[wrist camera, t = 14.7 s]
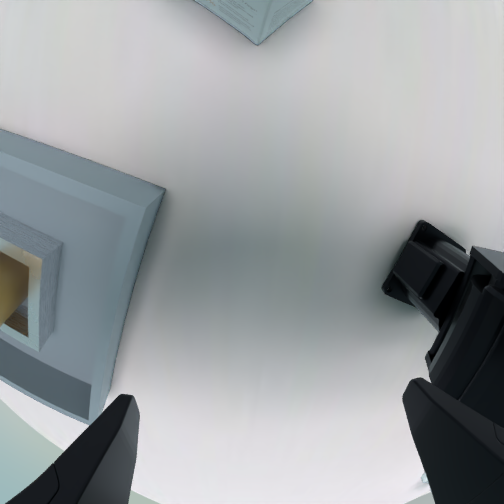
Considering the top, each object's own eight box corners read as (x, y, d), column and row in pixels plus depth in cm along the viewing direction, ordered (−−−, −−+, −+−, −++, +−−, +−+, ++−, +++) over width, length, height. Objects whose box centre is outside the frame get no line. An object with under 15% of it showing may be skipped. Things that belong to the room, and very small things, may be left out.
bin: (165, 189, 18) (145, 208, 14) (110, 389, 25) (96, 428, 20) (-33, 118, 14) (-73, 123, 9) (-40, 307, 20) (-65, 331, 16)
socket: (63, 242, 18) (42, 259, 15) (54, 330, 21) (39, 352, 18) (-15, 204, 16) (-39, 215, 13) (-16, 291, 19) (-34, 307, 16)
